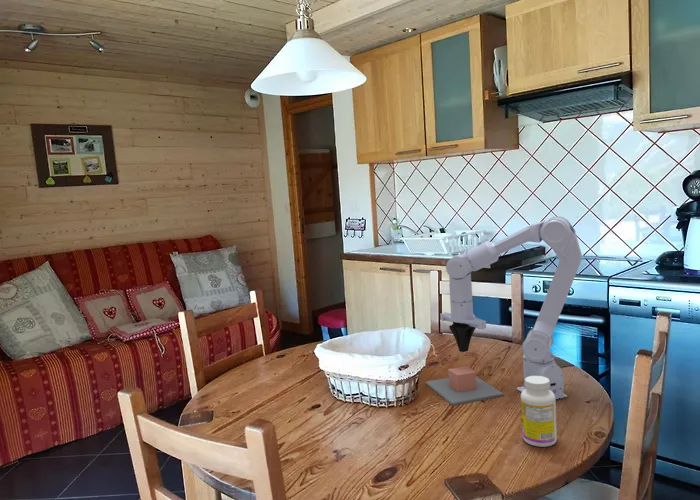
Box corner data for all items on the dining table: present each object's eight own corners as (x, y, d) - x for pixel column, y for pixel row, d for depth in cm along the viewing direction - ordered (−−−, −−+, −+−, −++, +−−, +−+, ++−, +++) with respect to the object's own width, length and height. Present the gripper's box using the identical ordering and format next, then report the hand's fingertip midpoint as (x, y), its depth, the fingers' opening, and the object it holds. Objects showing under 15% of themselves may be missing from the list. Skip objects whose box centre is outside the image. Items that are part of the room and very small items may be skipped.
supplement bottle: (529, 430, 110) (527, 371, 109) (561, 437, 106) (559, 376, 104) (517, 442, 105) (514, 381, 103) (550, 451, 100) (548, 387, 99)
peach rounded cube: (476, 389, 133) (475, 372, 132) (458, 392, 131) (457, 375, 131) (466, 382, 138) (466, 366, 137) (449, 385, 136) (448, 369, 136)
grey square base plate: (503, 395, 129) (502, 381, 128) (452, 405, 125) (451, 391, 125) (471, 375, 144) (471, 363, 144) (425, 383, 141) (424, 371, 140)
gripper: (493, 301, 131) (495, 353, 133) (452, 294, 143) (454, 342, 145) (474, 306, 128) (476, 359, 129) (433, 299, 140) (436, 347, 141)
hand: (463, 351), depth 137 cm, fingers closed
